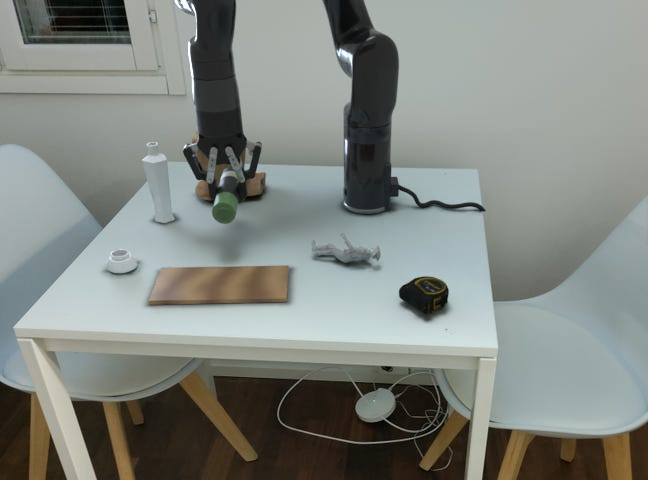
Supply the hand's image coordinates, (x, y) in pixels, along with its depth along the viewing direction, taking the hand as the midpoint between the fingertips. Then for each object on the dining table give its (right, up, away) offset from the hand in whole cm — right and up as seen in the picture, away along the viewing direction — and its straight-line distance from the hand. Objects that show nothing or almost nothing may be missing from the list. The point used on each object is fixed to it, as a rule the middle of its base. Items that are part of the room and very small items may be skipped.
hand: (229, 200), depth 126 cm
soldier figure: (+21, -11, -2) cm, 24 cm away
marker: (0, 0, +1) cm, 1 cm away
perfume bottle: (-15, -1, +13) cm, 19 cm away
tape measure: (+34, -21, -14) cm, 42 cm away
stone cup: (-3, +6, +22) cm, 23 cm away
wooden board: (0, -16, -9) cm, 19 cm away
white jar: (-18, -13, -4) cm, 22 cm away
